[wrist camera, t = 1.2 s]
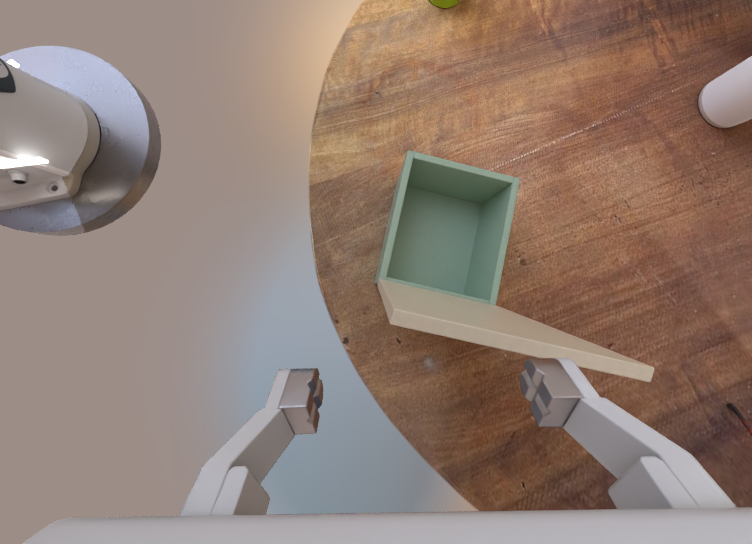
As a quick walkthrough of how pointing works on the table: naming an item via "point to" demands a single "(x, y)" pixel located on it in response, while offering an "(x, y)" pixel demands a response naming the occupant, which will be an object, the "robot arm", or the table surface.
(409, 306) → the lid
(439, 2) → the soap dispenser
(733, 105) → the mug
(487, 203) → the green open box
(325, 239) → the table surface
